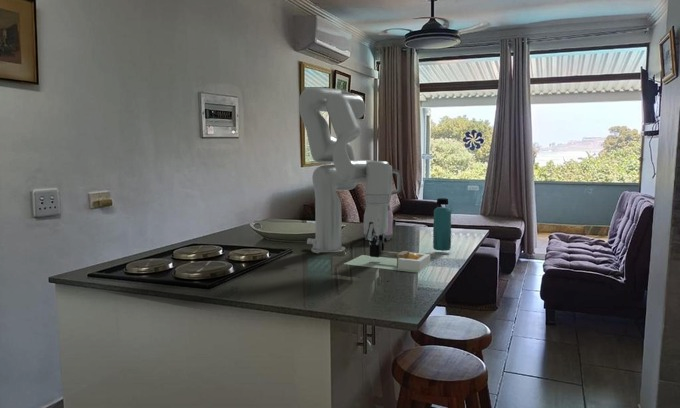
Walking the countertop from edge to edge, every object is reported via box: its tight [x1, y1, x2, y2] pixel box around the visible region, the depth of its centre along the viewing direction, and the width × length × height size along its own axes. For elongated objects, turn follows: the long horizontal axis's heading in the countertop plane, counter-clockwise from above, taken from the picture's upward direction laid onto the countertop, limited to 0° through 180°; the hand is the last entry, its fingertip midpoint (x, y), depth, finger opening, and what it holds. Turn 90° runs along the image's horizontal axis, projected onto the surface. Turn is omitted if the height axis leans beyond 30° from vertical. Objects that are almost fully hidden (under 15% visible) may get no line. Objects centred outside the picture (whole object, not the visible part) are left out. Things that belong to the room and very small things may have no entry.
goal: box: [398, 251, 431, 272], centre depth 158 cm, size 7×11×3 cm, turn 154°
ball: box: [407, 252, 419, 260], centre depth 158 cm, size 4×4×4 cm
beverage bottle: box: [432, 197, 452, 252], centre depth 182 cm, size 6×7×20 cm
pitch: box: [343, 254, 434, 274], centre depth 162 cm, size 25×15×1 cm, turn 64°
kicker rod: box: [378, 240, 410, 266], centre depth 162 cm, size 12×6×7 cm, turn 64°
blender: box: [363, 164, 402, 242], centre depth 209 cm, size 16×12×32 cm
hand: (376, 255), depth 164 cm, fingers closed on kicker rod, 3 cm apart
